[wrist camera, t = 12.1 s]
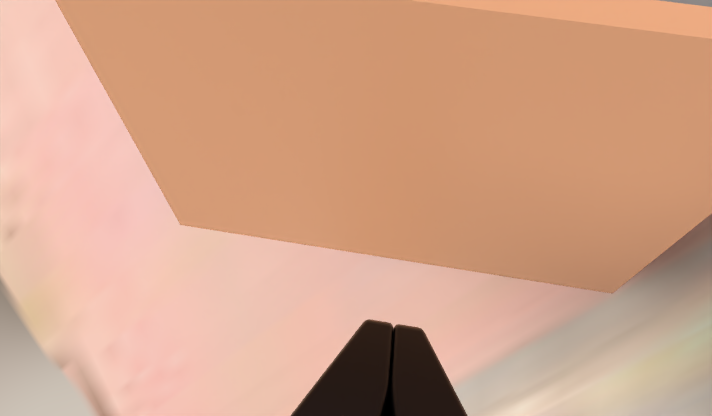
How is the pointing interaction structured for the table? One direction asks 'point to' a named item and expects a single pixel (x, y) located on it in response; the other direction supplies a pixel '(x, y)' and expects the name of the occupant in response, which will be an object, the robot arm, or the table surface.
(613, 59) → the duct cover
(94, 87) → the table surface
